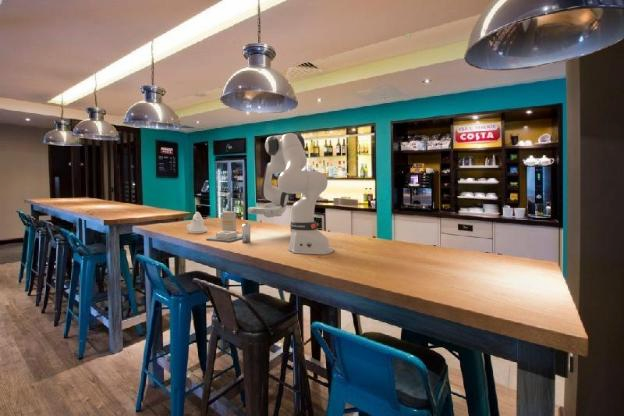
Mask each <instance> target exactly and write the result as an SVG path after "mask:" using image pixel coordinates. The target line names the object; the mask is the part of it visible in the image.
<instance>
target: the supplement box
mask: <svg viewBox="0 0 624 416" xmlns="http://www.w3.org/2000/svg"><path fill="white" fill-rule="evenodd" d="M221 222H222V223H221V226H222V227H221V228H222V229H221V231H235V232H237V212H236V211H235V210H234V211H225V210H224V211H222V212H221Z"/></svg>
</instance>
